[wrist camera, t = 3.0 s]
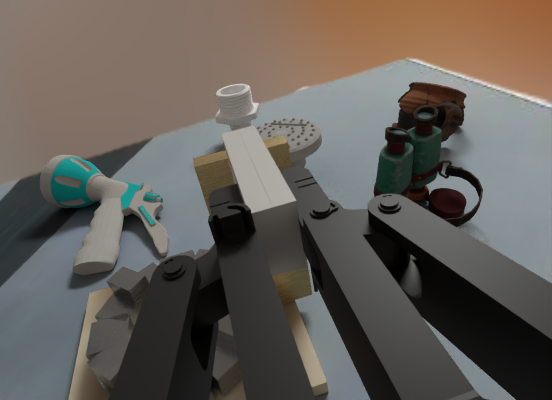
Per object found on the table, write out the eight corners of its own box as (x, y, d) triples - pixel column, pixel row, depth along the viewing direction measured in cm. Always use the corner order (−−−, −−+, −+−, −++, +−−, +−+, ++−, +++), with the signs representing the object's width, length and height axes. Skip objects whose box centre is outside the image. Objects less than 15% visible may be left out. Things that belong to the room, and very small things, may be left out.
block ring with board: (86, 445, 25) (-48, 297, 18) (108, 291, 37) (33, 161, 29) (341, 359, 28) (322, 193, 20) (287, 239, 39) (262, 104, 31)
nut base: (62, 483, 25) (26, 451, 23) (94, 301, 38) (74, 268, 36) (328, 391, 27) (322, 353, 25) (273, 248, 41) (265, 214, 38)
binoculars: (466, 171, 29) (360, 129, 36) (442, 266, 36) (356, 216, 42) (522, 124, 34) (418, 94, 40) (491, 217, 40) (406, 179, 46)
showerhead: (224, 146, 45) (262, 110, 52) (238, 198, 49) (271, 158, 57) (301, 151, 41) (330, 112, 49) (309, 207, 45) (335, 163, 53)
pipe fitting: (217, 138, 65) (204, 91, 61) (257, 125, 67) (247, 78, 63) (228, 152, 60) (215, 102, 56) (271, 138, 62) (262, 88, 58)
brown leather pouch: (375, 135, 58) (392, 78, 57) (429, 149, 61) (448, 95, 59) (418, 149, 47) (442, 78, 45) (483, 165, 50) (508, 99, 48)
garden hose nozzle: (158, 236, 40) (175, 133, 55) (-23, 256, 39) (46, 146, 54) (174, 281, 44) (185, 175, 59) (12, 300, 43) (66, 188, 59)
